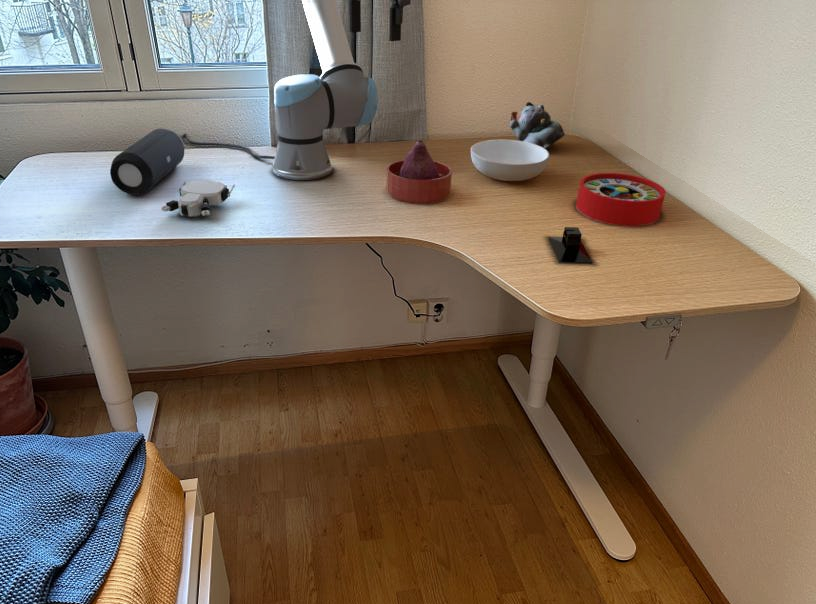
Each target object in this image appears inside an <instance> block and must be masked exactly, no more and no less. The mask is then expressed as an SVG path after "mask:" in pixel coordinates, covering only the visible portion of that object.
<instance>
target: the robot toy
mask: <svg viewBox="0 0 816 604" xmlns="http://www.w3.org/2000/svg"><path fill="white" fill-rule="evenodd" d="M235 187H236V185H235V184H233V185H232V187H231V189H229V188H228V185H227V184H226V183H223V182H221V181H218V180H217V181H216V180H211V179H194V180H191V181H188V179H185V180H184V182H183V184H182V185H181V187H179V189H178V192H179V196H180V198H179V199H178V200H174V199H173V200H170V201H168V202H165V205H163V206H161V208H160V209H161V211H163V212H174V211H176V210H178V211H179V215H180V216H182V217H183V216H186V217H187V216H188V217H200V215H202V216H205V217H206V216H210V215H211V206H219V205H222V204H223V203H224V202H225V201H226V200H227V199H228V198H230V197H231V194H232V192H233V190H234V188H235Z"/></svg>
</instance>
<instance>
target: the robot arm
mask: <svg viewBox="0 0 816 604" xmlns="http://www.w3.org/2000/svg"><path fill="white" fill-rule="evenodd" d="M301 1H302V4H303V10H304V12H305V16H306V19H307V22H308V26H309V29H310V32H311V36H312V39H313V43H314V47H315V50H316V54H317V56H318V60H319V63H320V68H321V70H322V73H321V75H320V76H319V75H318V74H317V75H316V74H314V73H313V74H312V73H307V74H304V73H303V74H295V75H289V76H286V77H284V78H281V79H280V80H278V81H277V82H276V84H275V85H274V89H273V91H274V92H273V94H274V98H273V104H274V111H275V122H276V123H275V124H276V134H277V145H276V148H275V154H274V155H263V154H262V155H261V154H257V153H256V152H255V151H254V150H253V149H252V148H250V147H248V146H246V145H241V144H235V143H234V144H233V143H225V142H209V141H208V142H203V141H194V140H191V139H190V137H189V135H188V133H187V132H185V134H184V133H183V134H182V138H183V139H186V141H187V142H188V143H189V144H191V145H195V146H196V145H197V146H215V147H217V146H219V147H220V146H221V147H229V148H236V149H237V148H238V149H241V150H246V151H247V152H249V153H250V154H251V155H252V156H253V157H255V158H257V159H264V160H266V159H267V160H273V162H272V171H273V172H272V173H274V175H276V176H277V177H279V178H282V179H285V180H292V181H311V180H317V179H322V178H324V177H327V176H328V175H330V174H331V172H332V163H331V160H330V158H329V154H328V151H327V149H326V146H325V143H324V130H331V129H340V128H341V129H342V128H353V127H356V128H357V127H360V126H365V125H369V124H371V123H372V122H373V121H374V119H375V117H376V114H377V110H378V101H379V99H378V98H379V97H378V96H379V95H378V88H377V87H378V86H377V84H376V81H375V80H374V79H373V77H370V76H366V77H365V75H364V71H363V68H362V67H361V65H359V64H358V63H356V62H355V61H354V57H353V54H352V51H351V47H350V43H349V41H348V36H347V34H346V30H345V27H344V23H343V20H342V17H341V14H340V10H339V6H338V3H337V0H301ZM389 1H390V3H391V5H390V7H389V35H388V36H389V39H388V41H389V42H399V41H400V42H401V41H402V40H401V39H402V25H403V21H404V19H403V18H404V17H403V16H404V8H405V7H407V6H410V5H411V1H412V0H389ZM361 2H362V1H361V0H347V4H348V6H347V7H348V10H347V11H348V15H349V33H361V32H362V5H361V4H362V3H361Z"/></svg>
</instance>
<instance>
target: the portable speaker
mask: <svg viewBox="0 0 816 604" xmlns="http://www.w3.org/2000/svg"><path fill="white" fill-rule="evenodd" d="M184 157H185V144H184V141H183V139H182V138H181V136H180V135H179V134H178V133H176V132H175V131H173V130H172V129H171V130H170V129H168V128H167V129H166V128H156V129H154V130H152V131H150V132H149V133H147V134H145V136H143V137H142V138H140V139H139V140H137V141H136V142H135V143H133V144H132V145H130V146H129V147H127V148H126V149H125V150H123V151H121V152H120V153H119V154H117V155H116V156H115V157H114V158H113V159H112V161H111V165H110V170H109V172H110V173H109V174H110V178H111V181H112V183H113V184H114V186H115V187H116V188H117V189H118V190H120V191H121V192H123V193H125V194H128V195H142V194H145V193H147V192H149V190H150V189H151V188H153V187H154V186H155V185H157V184H158V182H160V181H161V180H162V179H164V178H165V176H166V175H168V174H169V173H170V172H171V171H172V170H173V169H175V168H176V167H177V166H178V165H180V163H181V162H182V161H183V160H184Z"/></svg>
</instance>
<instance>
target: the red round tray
mask: <svg viewBox="0 0 816 604" xmlns="http://www.w3.org/2000/svg"><path fill="white" fill-rule="evenodd" d="M433 161H434V163H435V165H436V167H437V170H438V176H439V178H437V179H430V180H417V179H408V178H403V177H399V175H400V171H401V168H402V165H403V162H404V159H401V160H397V161H393V162H391V163H389V164H388V165H387V167H386V174H385V175H386V178H385V179H386V181H385V185H386V187H385V188H386V193H387V194H388V196H390V197H391V198H392V199H394V200H396V201H399V202H403V203H406V204H415V205H416V204H417V205H427V204H435V203H439V202H443V201H444V200H446V199H447V198H449V196H450V195H451V191H452V178H453V170H452V168H451V166H449V165H447V164H446V163H443V162H440V161H437V160H433Z"/></svg>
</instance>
